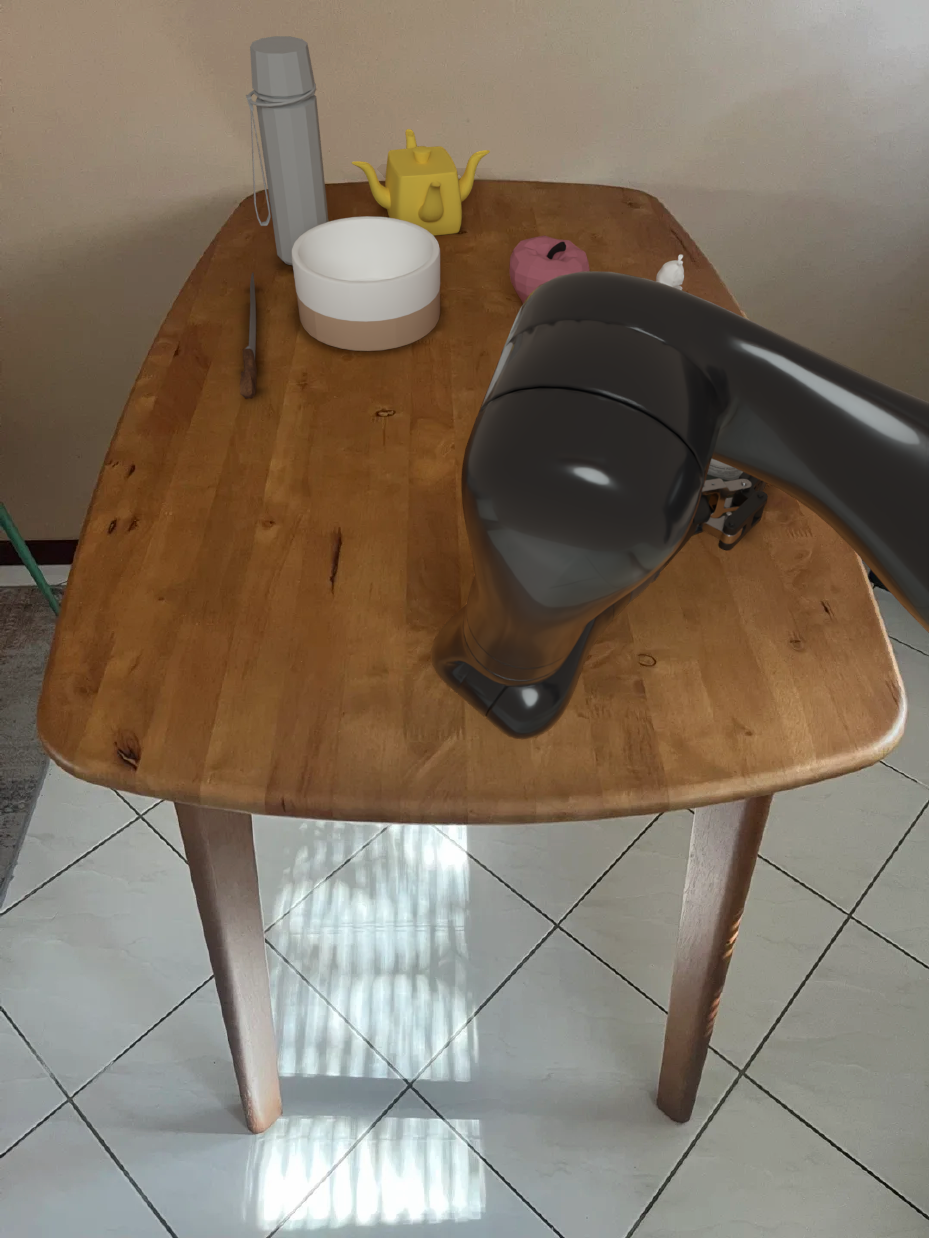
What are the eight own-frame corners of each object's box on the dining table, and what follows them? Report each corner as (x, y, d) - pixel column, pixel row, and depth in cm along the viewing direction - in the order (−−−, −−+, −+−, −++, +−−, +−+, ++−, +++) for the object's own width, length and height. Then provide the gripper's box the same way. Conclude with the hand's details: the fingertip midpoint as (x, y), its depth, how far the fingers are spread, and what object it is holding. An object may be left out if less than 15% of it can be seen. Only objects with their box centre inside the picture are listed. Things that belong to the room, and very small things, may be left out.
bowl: (450, 286, 119) (450, 221, 113) (426, 358, 108) (425, 290, 102) (319, 275, 121) (312, 210, 115) (282, 344, 109) (272, 277, 103)
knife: (251, 382, 97) (254, 244, 117) (238, 383, 97) (243, 244, 116) (257, 417, 100) (259, 277, 120) (245, 418, 100) (249, 277, 120)
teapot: (438, 252, 126) (438, 178, 119) (352, 227, 130) (347, 155, 123) (492, 213, 134) (494, 142, 127) (409, 191, 139) (407, 121, 132)
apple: (589, 303, 117) (599, 224, 109) (577, 338, 111) (586, 257, 104) (515, 293, 118) (519, 214, 111) (499, 327, 113) (502, 246, 105)
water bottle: (327, 241, 128) (306, 32, 109) (337, 268, 122) (317, 53, 104) (259, 248, 126) (227, 38, 108) (266, 276, 121) (233, 59, 102)
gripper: (711, 547, 70) (800, 444, 79) (552, 473, 75) (652, 385, 84) (692, 616, 75) (777, 512, 84) (545, 542, 81) (639, 452, 90)
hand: (714, 448), depth 84 cm, fingers open, 8 cm apart
